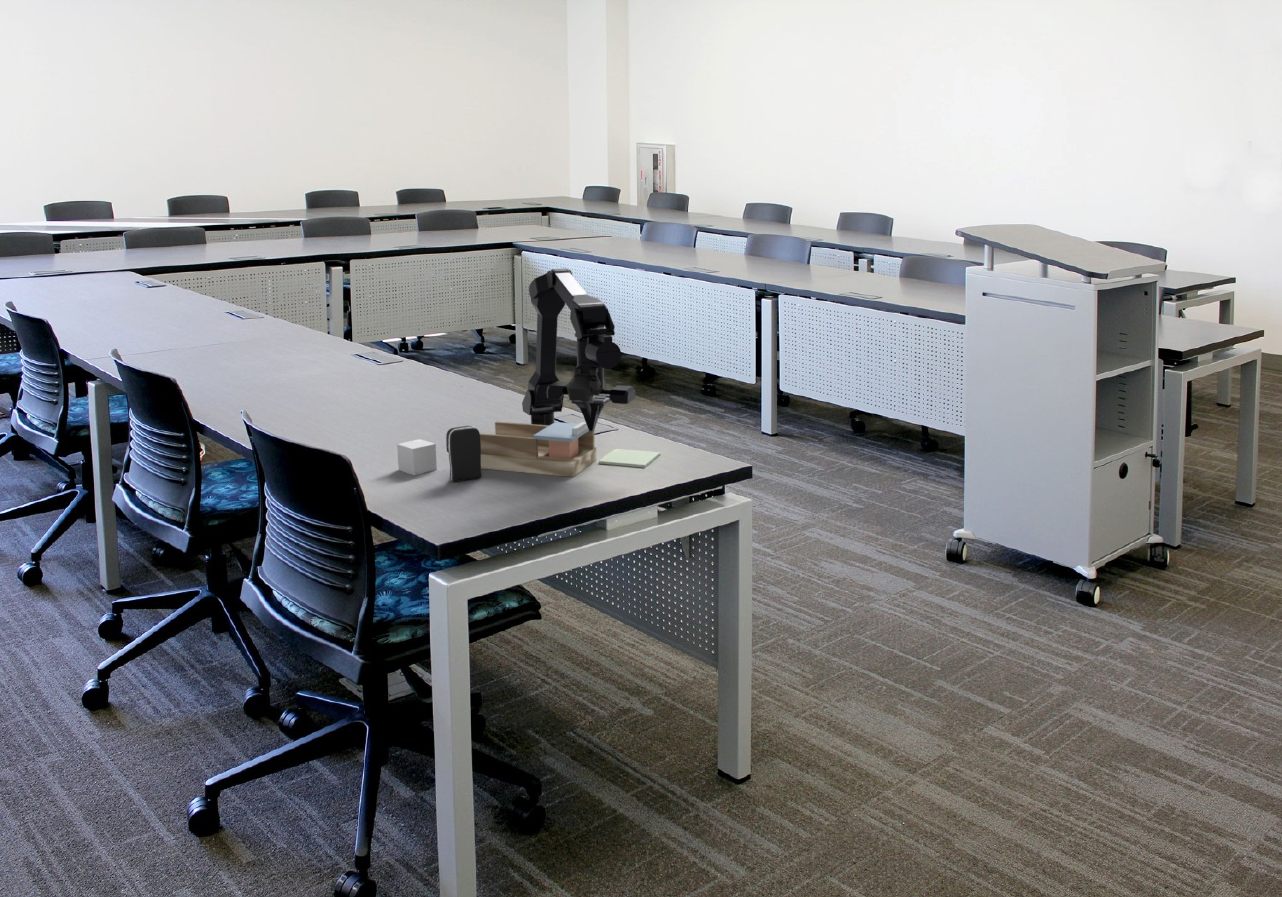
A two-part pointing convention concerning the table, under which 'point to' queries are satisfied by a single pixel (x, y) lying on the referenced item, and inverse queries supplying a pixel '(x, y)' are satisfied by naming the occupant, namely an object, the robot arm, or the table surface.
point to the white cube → (417, 456)
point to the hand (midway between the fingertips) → (591, 430)
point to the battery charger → (464, 453)
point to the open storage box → (531, 451)
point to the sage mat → (629, 458)
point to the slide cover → (562, 432)
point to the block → (563, 449)
